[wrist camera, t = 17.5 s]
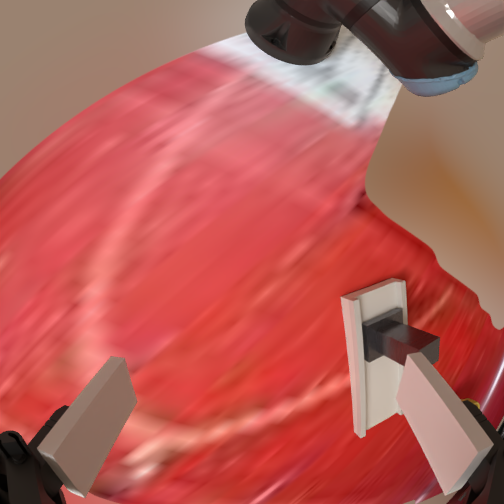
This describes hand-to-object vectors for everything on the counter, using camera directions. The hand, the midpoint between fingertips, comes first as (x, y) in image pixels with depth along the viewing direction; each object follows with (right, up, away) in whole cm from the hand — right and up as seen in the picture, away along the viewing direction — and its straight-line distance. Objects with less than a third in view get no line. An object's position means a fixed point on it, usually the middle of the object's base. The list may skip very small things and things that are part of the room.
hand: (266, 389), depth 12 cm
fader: (+19, -6, +27) cm, 34 cm away
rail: (+19, -12, +30) cm, 38 cm away
